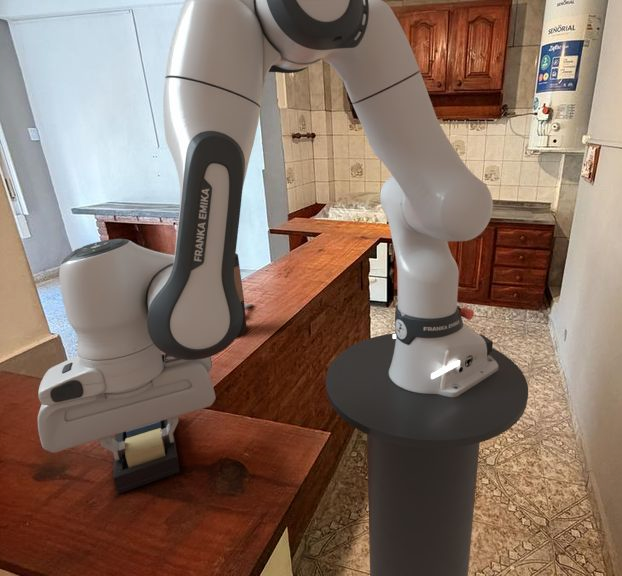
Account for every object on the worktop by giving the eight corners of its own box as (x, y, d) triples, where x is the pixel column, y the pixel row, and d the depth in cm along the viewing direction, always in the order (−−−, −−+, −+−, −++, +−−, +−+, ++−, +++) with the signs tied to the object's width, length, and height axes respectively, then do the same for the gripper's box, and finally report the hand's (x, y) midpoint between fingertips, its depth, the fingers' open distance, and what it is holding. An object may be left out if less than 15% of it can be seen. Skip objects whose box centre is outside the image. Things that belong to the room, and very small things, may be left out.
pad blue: (161, 423, 66) (158, 408, 65) (163, 437, 62) (160, 421, 61) (130, 433, 63) (126, 417, 62) (130, 448, 60) (125, 432, 59)
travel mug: (249, 325, 105) (240, 251, 99) (245, 337, 98) (235, 259, 92) (219, 327, 104) (208, 252, 98) (212, 339, 97) (200, 260, 90)
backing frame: (171, 419, 68) (168, 405, 67) (180, 472, 57) (176, 456, 56) (119, 434, 64) (116, 420, 63) (117, 494, 53) (113, 477, 52)
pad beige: (164, 444, 60) (160, 427, 59) (166, 460, 57) (162, 443, 56) (129, 455, 58) (125, 438, 57) (129, 473, 55) (125, 455, 54)
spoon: (231, 321, 107) (230, 314, 107) (244, 308, 119) (244, 301, 118) (242, 321, 107) (242, 314, 107) (254, 308, 119) (254, 301, 118)
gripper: (205, 336, 60) (218, 413, 65) (31, 374, 50) (60, 462, 54) (212, 353, 55) (225, 435, 59) (19, 399, 45) (53, 494, 49)
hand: (145, 448), depth 57 cm, fingers closed on pad beige, 4 cm apart
